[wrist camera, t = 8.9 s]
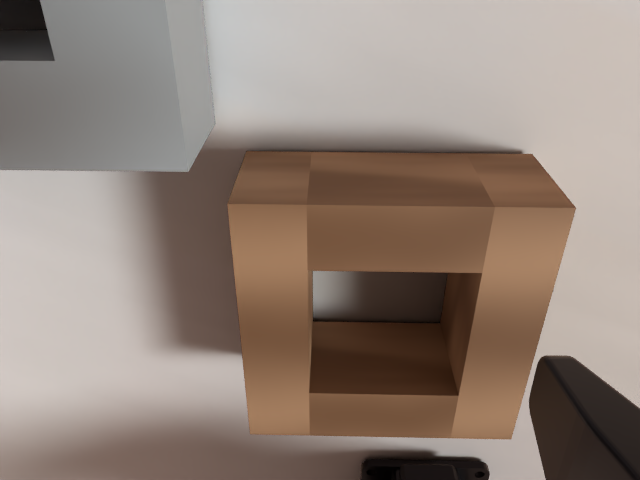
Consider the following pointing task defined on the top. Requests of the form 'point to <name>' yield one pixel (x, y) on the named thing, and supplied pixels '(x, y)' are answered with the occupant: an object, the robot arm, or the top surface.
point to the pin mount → (393, 256)
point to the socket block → (106, 87)
